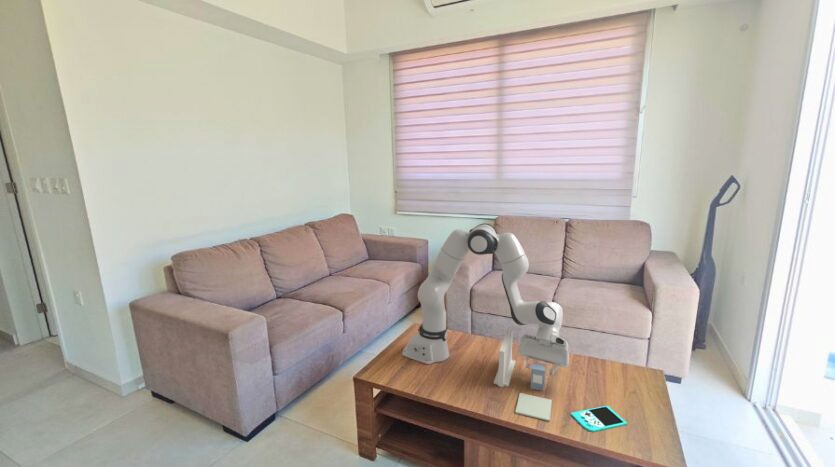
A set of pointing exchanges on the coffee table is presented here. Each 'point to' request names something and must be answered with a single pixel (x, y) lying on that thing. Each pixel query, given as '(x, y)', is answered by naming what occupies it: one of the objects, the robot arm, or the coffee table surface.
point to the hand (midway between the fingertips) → (539, 371)
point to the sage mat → (534, 406)
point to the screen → (505, 361)
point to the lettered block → (538, 376)
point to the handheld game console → (598, 419)
